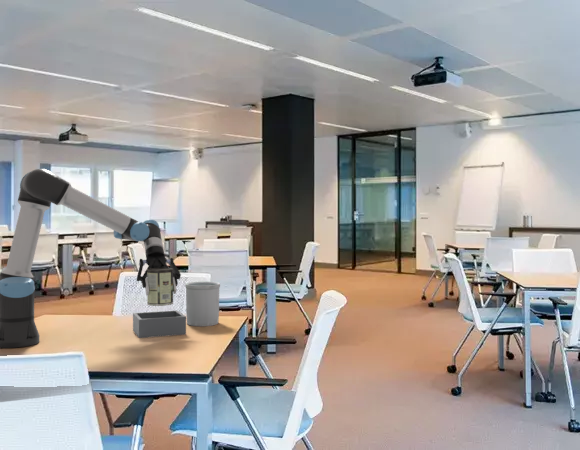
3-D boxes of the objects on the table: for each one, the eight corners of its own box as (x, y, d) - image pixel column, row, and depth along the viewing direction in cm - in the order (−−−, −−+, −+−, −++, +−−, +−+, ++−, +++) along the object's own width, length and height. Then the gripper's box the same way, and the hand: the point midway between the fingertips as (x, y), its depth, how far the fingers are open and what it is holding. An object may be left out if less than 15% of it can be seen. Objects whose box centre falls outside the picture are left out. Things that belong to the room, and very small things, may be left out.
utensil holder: (217, 326, 232) (217, 285, 232) (181, 326, 233) (182, 285, 232) (222, 320, 247) (222, 281, 247) (189, 320, 247) (189, 281, 247)
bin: (138, 338, 209) (139, 319, 209) (132, 330, 224) (132, 313, 224) (185, 334, 217) (186, 316, 217) (177, 327, 231) (177, 310, 231)
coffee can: (157, 301, 227) (157, 267, 227) (178, 303, 223) (178, 268, 223) (141, 305, 218) (141, 269, 218) (162, 306, 214) (162, 270, 214)
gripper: (179, 255, 239) (188, 296, 225) (125, 257, 230) (131, 300, 216) (182, 244, 234) (191, 285, 220) (127, 245, 225) (133, 288, 211)
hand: (161, 292), depth 218 cm, fingers closed on coffee can, 10 cm apart
